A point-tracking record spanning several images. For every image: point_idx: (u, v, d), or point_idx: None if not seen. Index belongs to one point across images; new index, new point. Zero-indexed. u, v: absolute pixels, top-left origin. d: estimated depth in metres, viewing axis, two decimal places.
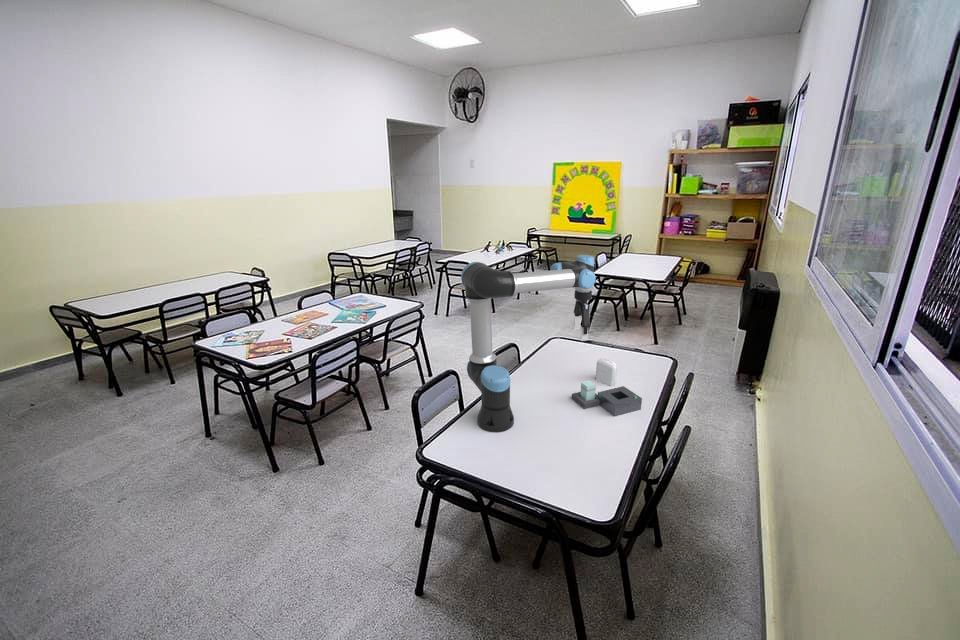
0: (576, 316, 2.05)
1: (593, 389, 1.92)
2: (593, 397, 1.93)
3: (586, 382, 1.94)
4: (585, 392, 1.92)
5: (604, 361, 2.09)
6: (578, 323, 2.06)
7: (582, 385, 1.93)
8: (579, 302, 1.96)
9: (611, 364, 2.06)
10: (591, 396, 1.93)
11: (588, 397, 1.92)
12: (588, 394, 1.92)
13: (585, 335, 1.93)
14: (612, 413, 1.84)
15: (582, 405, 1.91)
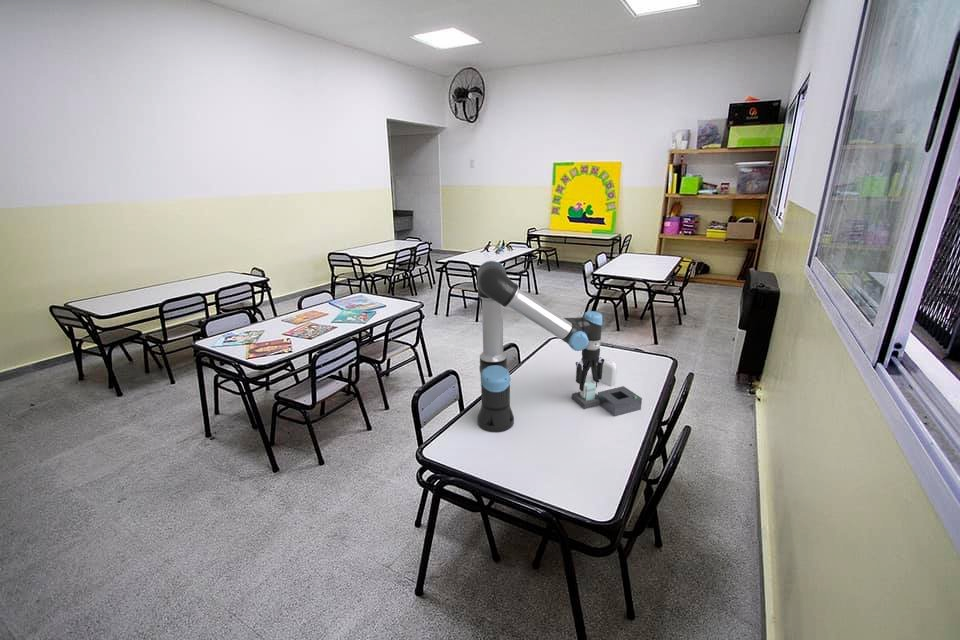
0: (592, 380, 1.94)
1: (593, 389, 1.92)
2: (593, 397, 1.93)
3: (586, 382, 1.94)
4: None
5: (604, 361, 2.09)
6: None
7: None
8: None
9: (611, 364, 2.06)
10: (591, 396, 1.93)
11: (588, 397, 1.92)
12: (588, 394, 1.92)
13: (582, 392, 1.93)
14: (612, 413, 1.84)
15: (582, 405, 1.91)
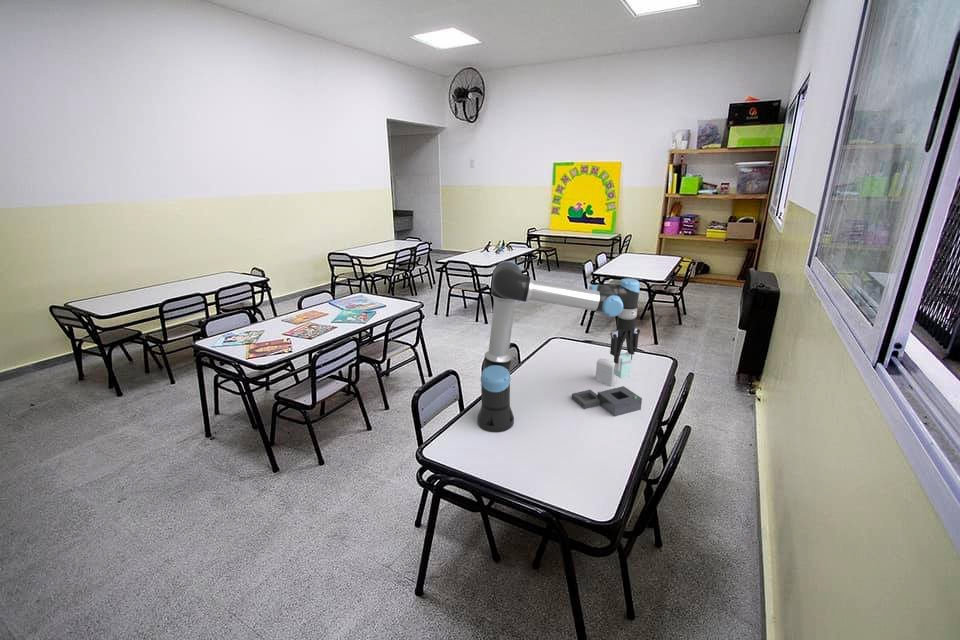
0: (627, 352, 1.85)
1: (628, 361, 1.82)
2: (628, 370, 1.84)
3: (620, 354, 1.84)
4: (620, 365, 1.82)
5: (604, 361, 2.09)
6: None
7: None
8: None
9: (611, 364, 2.06)
10: (626, 369, 1.83)
11: (623, 370, 1.83)
12: (623, 367, 1.82)
13: (617, 365, 1.83)
14: (612, 413, 1.84)
15: (582, 405, 1.91)
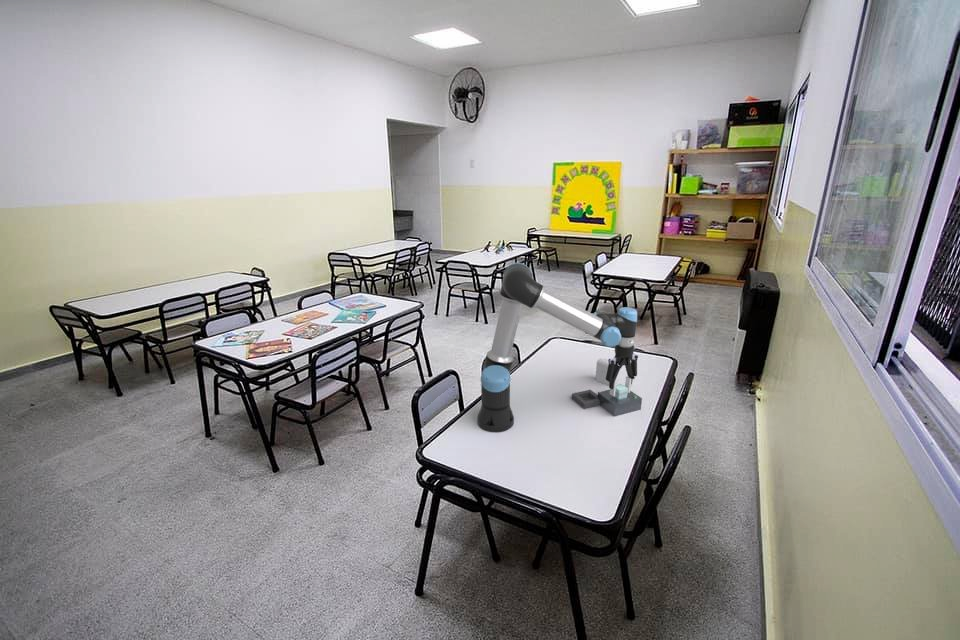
0: (627, 377, 1.89)
1: (625, 393, 1.87)
2: None
3: (618, 385, 1.89)
4: (617, 396, 1.87)
5: (604, 361, 2.09)
6: (627, 385, 1.89)
7: None
8: None
9: None
10: None
11: None
12: (620, 398, 1.87)
13: (612, 390, 1.86)
14: (612, 413, 1.84)
15: (582, 405, 1.91)
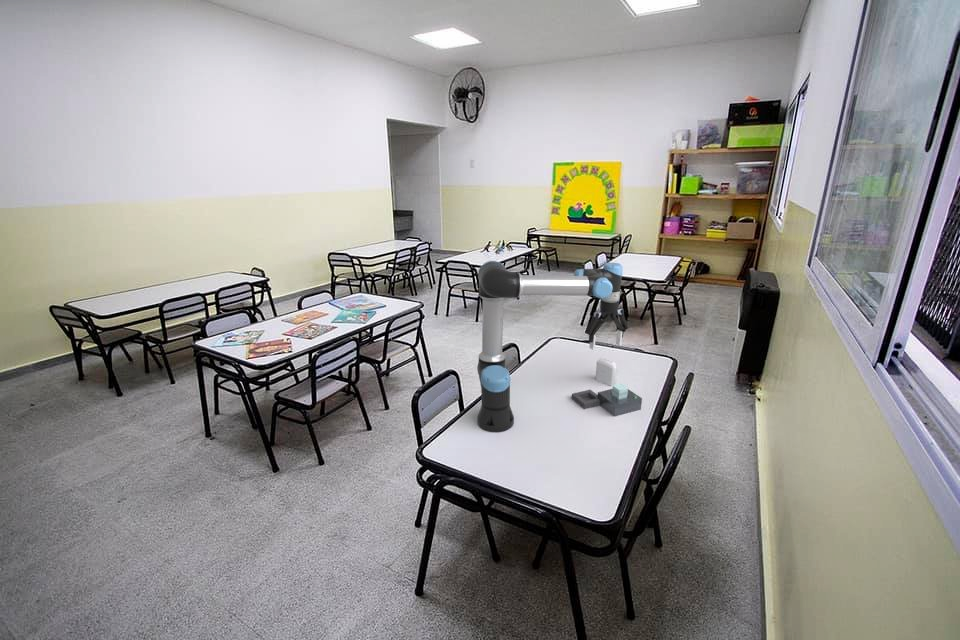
0: (618, 330, 1.91)
1: (625, 393, 1.87)
2: None
3: (618, 385, 1.89)
4: (617, 396, 1.87)
5: (604, 361, 2.09)
6: (618, 338, 1.91)
7: (614, 389, 1.89)
8: None
9: (611, 364, 2.06)
10: None
11: None
12: (620, 398, 1.87)
13: (592, 344, 1.87)
14: (612, 413, 1.84)
15: (582, 405, 1.91)
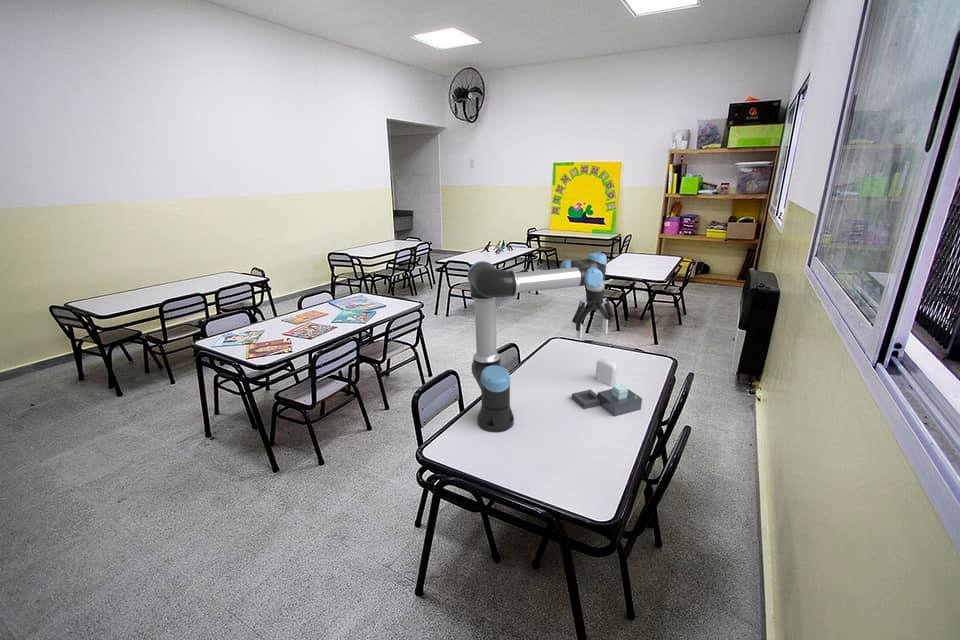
0: (604, 318, 1.96)
1: (625, 393, 1.87)
2: None
3: (618, 385, 1.89)
4: (617, 396, 1.87)
5: (604, 361, 2.09)
6: (604, 326, 1.96)
7: (614, 389, 1.89)
8: None
9: (611, 364, 2.06)
10: None
11: None
12: (620, 398, 1.87)
13: (579, 332, 1.92)
14: (612, 413, 1.84)
15: (582, 405, 1.91)
